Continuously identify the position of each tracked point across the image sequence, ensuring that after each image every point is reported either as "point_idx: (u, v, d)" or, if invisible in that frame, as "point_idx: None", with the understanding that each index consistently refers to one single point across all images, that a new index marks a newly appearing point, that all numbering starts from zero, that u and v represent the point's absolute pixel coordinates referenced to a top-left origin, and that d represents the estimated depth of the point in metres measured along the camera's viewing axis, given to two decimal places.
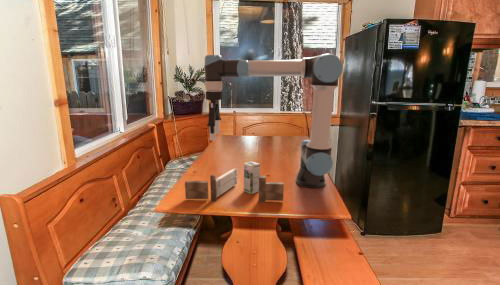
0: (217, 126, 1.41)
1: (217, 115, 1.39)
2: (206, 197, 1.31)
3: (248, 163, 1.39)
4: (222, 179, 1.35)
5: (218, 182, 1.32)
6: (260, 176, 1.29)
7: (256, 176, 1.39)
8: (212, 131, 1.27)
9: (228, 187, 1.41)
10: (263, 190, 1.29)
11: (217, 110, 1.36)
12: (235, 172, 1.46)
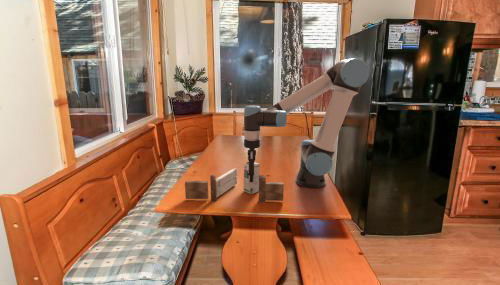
0: None
1: None
2: (206, 197, 1.31)
3: (248, 163, 1.39)
4: (222, 179, 1.35)
5: (218, 182, 1.32)
6: (260, 176, 1.29)
7: (256, 176, 1.39)
8: (251, 180, 1.35)
9: (228, 187, 1.41)
10: (263, 190, 1.29)
11: None
12: (235, 172, 1.46)
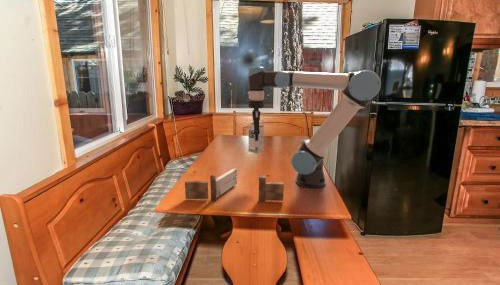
0: None
1: None
2: (206, 197, 1.31)
3: (252, 123, 1.45)
4: (222, 179, 1.35)
5: (218, 182, 1.32)
6: (260, 176, 1.29)
7: (260, 136, 1.45)
8: (257, 139, 1.41)
9: (228, 187, 1.41)
10: (263, 190, 1.29)
11: None
12: (235, 172, 1.46)
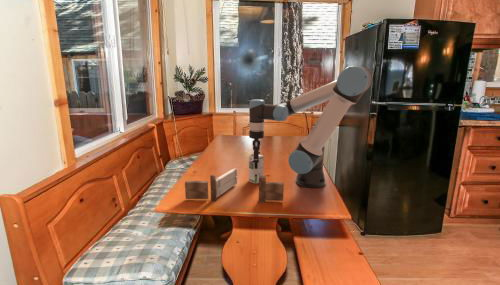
0: None
1: None
2: (206, 197, 1.31)
3: (253, 155, 1.51)
4: (222, 179, 1.35)
5: (218, 182, 1.32)
6: (260, 176, 1.29)
7: (260, 167, 1.51)
8: (256, 167, 1.45)
9: (228, 187, 1.41)
10: (263, 190, 1.29)
11: None
12: (235, 172, 1.46)
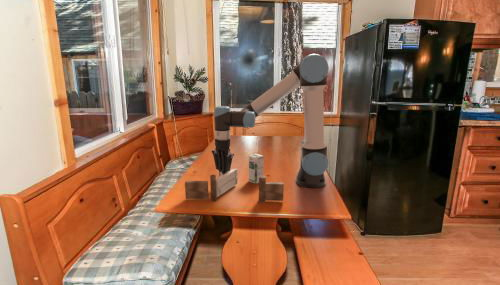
0: None
1: None
2: (206, 197, 1.31)
3: (253, 155, 1.51)
4: (222, 179, 1.35)
5: (218, 182, 1.32)
6: (260, 176, 1.29)
7: (260, 167, 1.51)
8: None
9: (228, 187, 1.41)
10: (263, 190, 1.29)
11: None
12: (235, 172, 1.46)
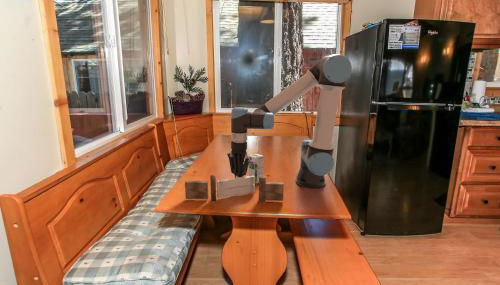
0: None
1: None
2: (206, 197, 1.31)
3: (253, 155, 1.51)
4: (227, 182, 1.32)
5: (219, 184, 1.31)
6: (260, 176, 1.29)
7: (260, 167, 1.51)
8: None
9: (238, 192, 1.35)
10: (263, 190, 1.29)
11: None
12: (251, 179, 1.37)
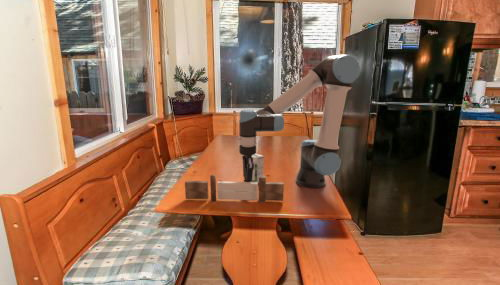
0: None
1: None
2: (206, 197, 1.31)
3: (253, 155, 1.51)
4: (226, 184, 1.29)
5: (219, 185, 1.29)
6: (260, 176, 1.29)
7: (260, 167, 1.51)
8: None
9: (238, 197, 1.30)
10: (263, 190, 1.29)
11: None
12: (254, 186, 1.29)
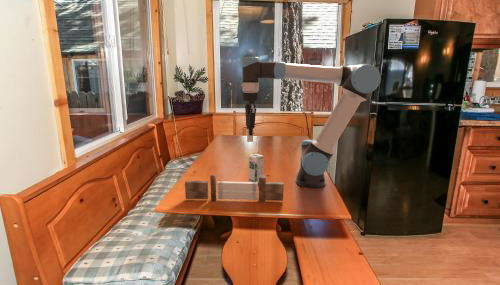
0: None
1: None
2: (206, 197, 1.31)
3: (253, 155, 1.51)
4: (226, 184, 1.29)
5: (219, 185, 1.29)
6: (260, 176, 1.29)
7: (260, 167, 1.51)
8: (251, 133, 1.37)
9: (238, 197, 1.30)
10: (263, 190, 1.29)
11: None
12: (254, 186, 1.29)
